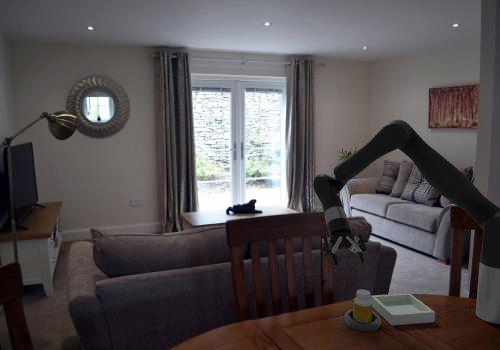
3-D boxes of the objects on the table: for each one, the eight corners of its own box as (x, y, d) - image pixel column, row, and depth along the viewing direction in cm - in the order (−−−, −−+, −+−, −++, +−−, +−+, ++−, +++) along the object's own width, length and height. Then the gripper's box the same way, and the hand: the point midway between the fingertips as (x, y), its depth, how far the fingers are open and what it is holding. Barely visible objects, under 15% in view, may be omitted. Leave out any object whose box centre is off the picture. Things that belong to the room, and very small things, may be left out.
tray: (408, 302, 135) (409, 293, 135) (434, 322, 121) (435, 312, 121) (370, 304, 133) (370, 295, 132) (391, 325, 119) (392, 315, 119)
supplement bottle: (372, 327, 118) (373, 296, 116) (353, 325, 119) (354, 294, 118) (370, 319, 123) (372, 289, 122) (352, 317, 124) (353, 287, 123)
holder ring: (370, 313, 126) (370, 307, 126) (385, 329, 117) (386, 323, 116) (340, 315, 125) (340, 309, 125) (353, 332, 115) (353, 325, 115)
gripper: (320, 217, 136) (331, 261, 126) (359, 216, 138) (373, 258, 128) (315, 228, 142) (325, 271, 132) (352, 227, 144) (365, 269, 134)
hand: (349, 265), depth 130 cm, fingers open, 8 cm apart
